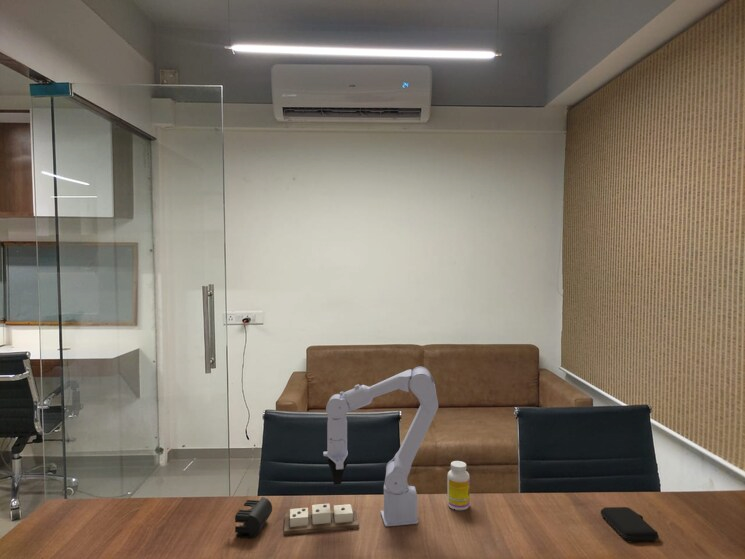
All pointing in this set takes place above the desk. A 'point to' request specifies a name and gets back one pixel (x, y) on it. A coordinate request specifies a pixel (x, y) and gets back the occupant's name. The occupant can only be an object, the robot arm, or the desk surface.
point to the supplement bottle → (458, 486)
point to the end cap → (252, 518)
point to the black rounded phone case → (629, 524)
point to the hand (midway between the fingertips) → (337, 483)
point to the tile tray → (320, 525)
